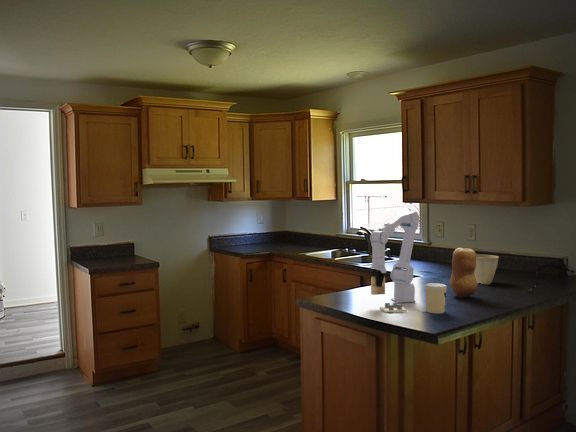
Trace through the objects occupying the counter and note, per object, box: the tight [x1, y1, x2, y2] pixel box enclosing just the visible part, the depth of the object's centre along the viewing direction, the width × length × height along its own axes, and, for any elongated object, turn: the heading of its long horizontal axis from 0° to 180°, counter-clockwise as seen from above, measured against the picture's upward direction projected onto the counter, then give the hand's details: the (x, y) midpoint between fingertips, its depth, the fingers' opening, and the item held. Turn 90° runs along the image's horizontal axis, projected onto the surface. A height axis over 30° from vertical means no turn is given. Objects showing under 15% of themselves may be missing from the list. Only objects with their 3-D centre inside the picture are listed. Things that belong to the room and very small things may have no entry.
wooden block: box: [370, 276, 386, 296], centre depth 242 cm, size 6×2×8 cm, turn 101°
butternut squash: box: [449, 247, 478, 299], centre depth 266 cm, size 14×13×25 cm
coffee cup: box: [424, 282, 448, 314], centre depth 236 cm, size 9×9×12 cm
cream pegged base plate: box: [379, 302, 408, 314], centre depth 237 cm, size 10×7×3 cm
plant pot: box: [474, 254, 500, 285], centre depth 305 cm, size 15×15×16 cm
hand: (378, 286), depth 242 cm, fingers closed on wooden block, 2 cm apart
